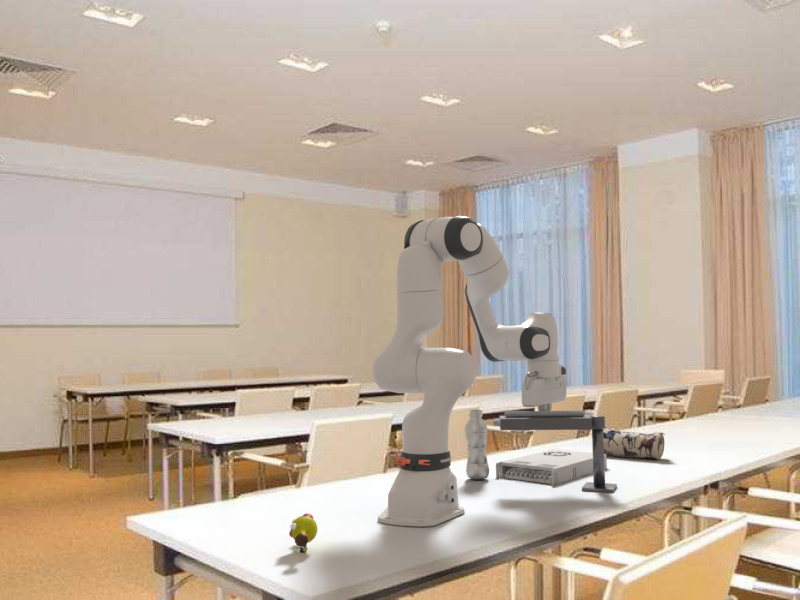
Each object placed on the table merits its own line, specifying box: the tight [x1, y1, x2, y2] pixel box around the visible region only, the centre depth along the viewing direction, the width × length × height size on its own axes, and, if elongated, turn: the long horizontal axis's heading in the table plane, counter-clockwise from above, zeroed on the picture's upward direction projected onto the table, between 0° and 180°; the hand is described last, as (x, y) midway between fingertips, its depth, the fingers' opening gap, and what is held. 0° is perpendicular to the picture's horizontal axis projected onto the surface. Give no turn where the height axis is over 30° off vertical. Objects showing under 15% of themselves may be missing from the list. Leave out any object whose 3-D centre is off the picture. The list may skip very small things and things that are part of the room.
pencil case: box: [603, 425, 666, 460], centre depth 250 cm, size 22×8×10 cm, turn 50°
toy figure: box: [289, 513, 318, 553], centre depth 148 cm, size 18×6×7 cm, turn 3°
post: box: [581, 428, 618, 494], centre depth 201 cm, size 8×8×16 cm
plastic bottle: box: [464, 409, 490, 481], centre depth 217 cm, size 6×7×20 cm
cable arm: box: [499, 410, 606, 431], centre depth 202 cm, size 28×8×5 cm, turn 84°
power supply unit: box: [495, 448, 608, 486], centre depth 225 cm, size 19×33×5 cm, turn 138°
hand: (545, 420), depth 208 cm, fingers closed
